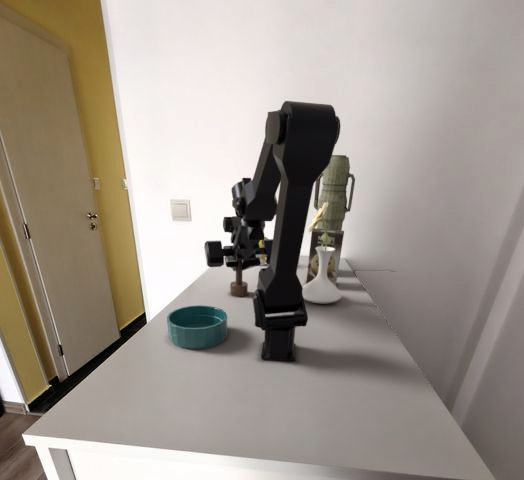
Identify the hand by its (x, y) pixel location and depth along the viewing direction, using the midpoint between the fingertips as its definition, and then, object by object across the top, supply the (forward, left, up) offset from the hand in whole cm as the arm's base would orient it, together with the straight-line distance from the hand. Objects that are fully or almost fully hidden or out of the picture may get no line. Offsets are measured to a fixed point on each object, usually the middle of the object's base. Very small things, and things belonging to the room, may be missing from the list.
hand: (237, 269), depth 91 cm
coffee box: (+11, -25, -7) cm, 28 cm away
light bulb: (+31, -5, -7) cm, 32 cm away
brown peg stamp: (-1, -1, -7) cm, 7 cm away
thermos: (+25, -27, -7) cm, 37 cm away
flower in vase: (-3, -23, -7) cm, 24 cm away
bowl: (-28, +4, -7) cm, 29 cm away
